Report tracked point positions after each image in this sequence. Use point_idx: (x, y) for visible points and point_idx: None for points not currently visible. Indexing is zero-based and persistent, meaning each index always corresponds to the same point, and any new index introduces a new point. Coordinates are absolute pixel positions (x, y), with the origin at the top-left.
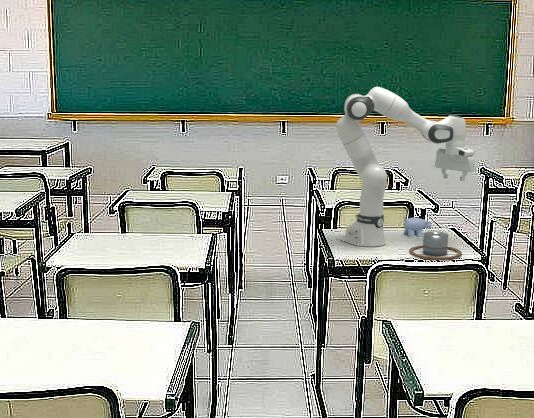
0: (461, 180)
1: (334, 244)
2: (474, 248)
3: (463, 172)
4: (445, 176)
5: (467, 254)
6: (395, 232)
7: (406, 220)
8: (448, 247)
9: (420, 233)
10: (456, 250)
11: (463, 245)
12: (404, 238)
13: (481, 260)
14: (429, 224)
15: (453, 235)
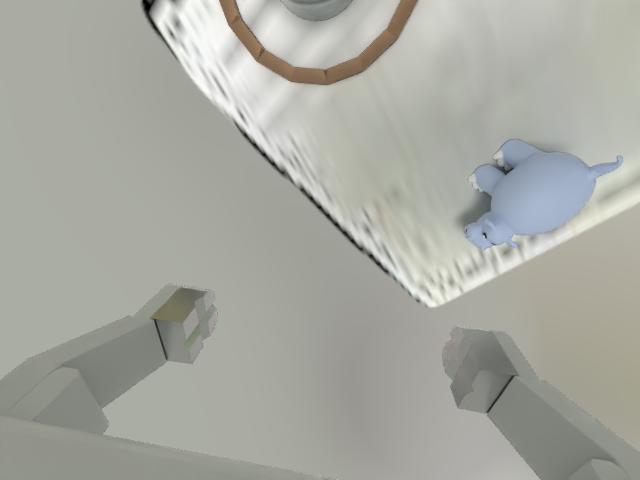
0: (184, 285)
1: None
2: (261, 155)
3: (17, 392)
4: (473, 346)
5: (227, 58)
6: None
7: (589, 169)
8: (310, 69)
9: (486, 175)
10: (265, 50)
11: (306, 166)
12: (533, 105)
13: (145, 12)
14: (476, 229)
15: (390, 254)
